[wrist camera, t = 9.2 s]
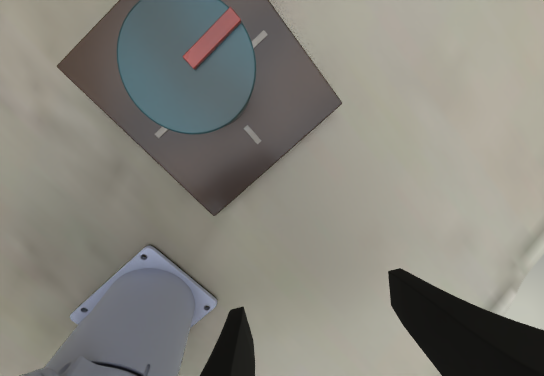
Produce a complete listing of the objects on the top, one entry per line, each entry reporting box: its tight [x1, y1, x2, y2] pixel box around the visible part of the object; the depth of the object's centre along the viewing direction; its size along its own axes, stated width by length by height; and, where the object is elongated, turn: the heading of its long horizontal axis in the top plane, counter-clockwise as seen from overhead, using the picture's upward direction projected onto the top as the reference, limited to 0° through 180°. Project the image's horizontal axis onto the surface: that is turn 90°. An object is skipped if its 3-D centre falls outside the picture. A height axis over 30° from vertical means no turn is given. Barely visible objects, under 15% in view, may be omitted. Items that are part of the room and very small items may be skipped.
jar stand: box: [57, 0, 342, 216], centre depth 17 cm, size 13×12×2 cm
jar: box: [117, 0, 256, 134], centre depth 13 cm, size 5×5×7 cm
